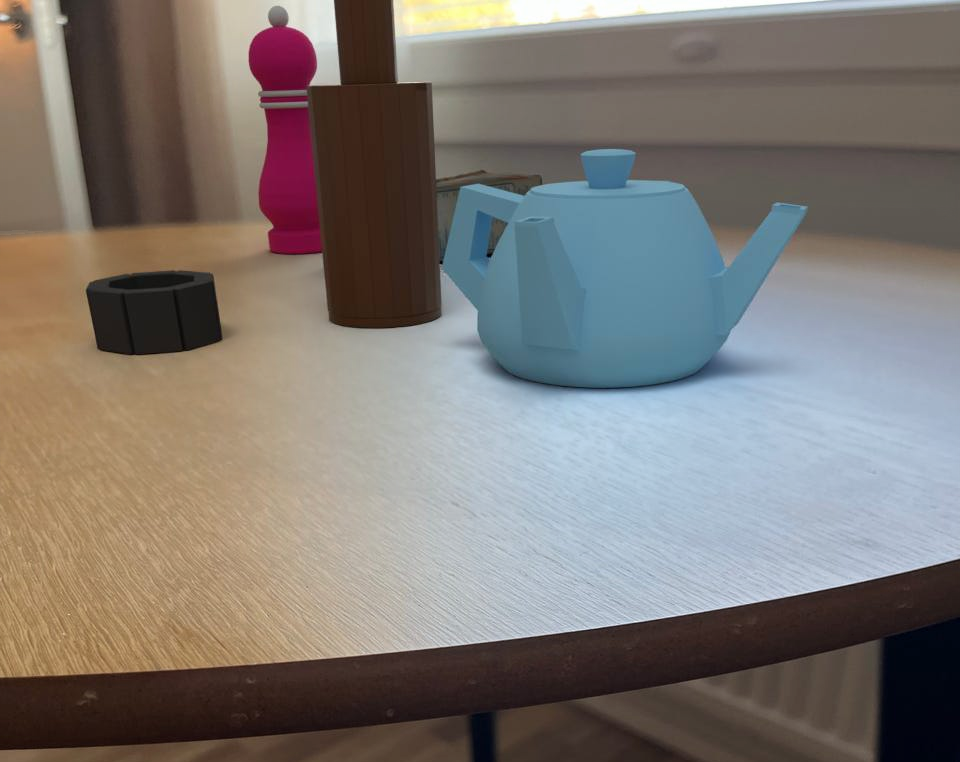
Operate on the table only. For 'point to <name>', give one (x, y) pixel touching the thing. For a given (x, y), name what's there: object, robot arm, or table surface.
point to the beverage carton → (451, 185)
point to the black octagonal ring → (154, 312)
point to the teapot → (605, 276)
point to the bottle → (375, 178)
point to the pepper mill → (287, 135)
